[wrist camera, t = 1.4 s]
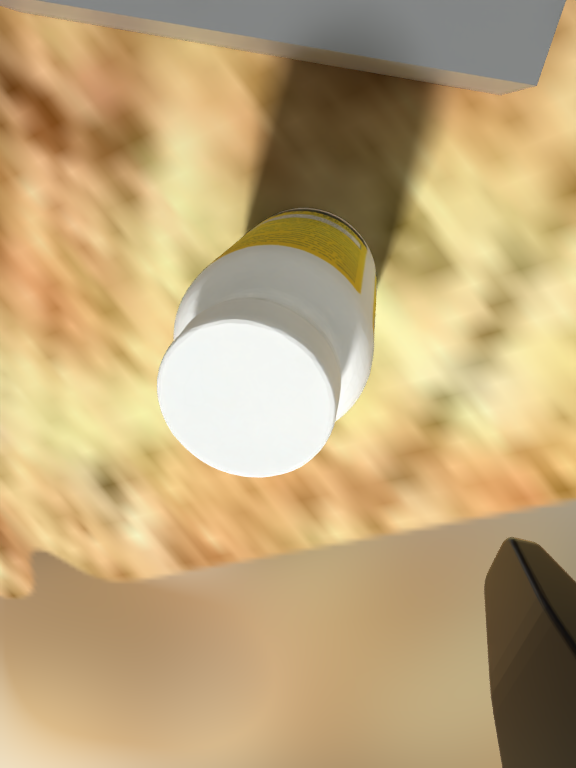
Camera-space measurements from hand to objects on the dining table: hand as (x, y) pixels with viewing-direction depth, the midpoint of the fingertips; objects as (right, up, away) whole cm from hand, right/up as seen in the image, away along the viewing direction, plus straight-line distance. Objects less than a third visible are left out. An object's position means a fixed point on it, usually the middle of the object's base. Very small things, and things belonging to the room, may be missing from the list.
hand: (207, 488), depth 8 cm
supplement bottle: (+2, +6, +12) cm, 13 cm away
